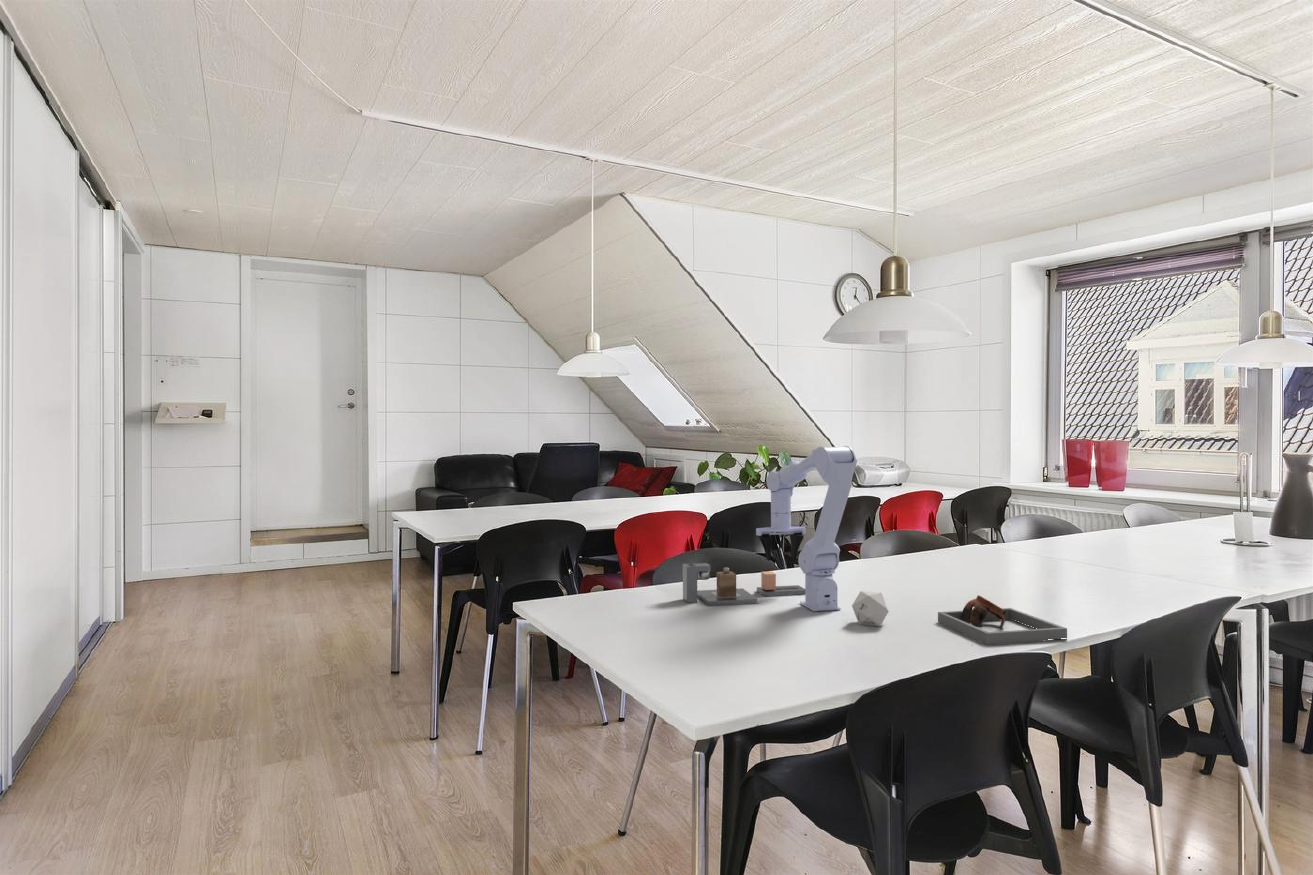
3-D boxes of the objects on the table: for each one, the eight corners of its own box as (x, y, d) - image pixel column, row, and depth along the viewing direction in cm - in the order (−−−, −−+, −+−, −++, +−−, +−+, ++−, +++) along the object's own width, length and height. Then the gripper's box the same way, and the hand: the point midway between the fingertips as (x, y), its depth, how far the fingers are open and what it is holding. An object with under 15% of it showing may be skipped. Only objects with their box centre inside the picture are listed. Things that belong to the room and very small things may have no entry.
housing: (736, 595, 213) (736, 569, 213) (720, 596, 212) (720, 569, 212) (731, 592, 218) (731, 566, 218) (716, 593, 217) (716, 566, 217)
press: (757, 603, 210) (757, 567, 210) (690, 606, 206) (690, 569, 206) (742, 592, 223) (742, 558, 223) (679, 595, 220) (679, 561, 220)
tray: (1067, 639, 172) (1067, 628, 172) (987, 644, 168) (987, 633, 168) (1010, 617, 192) (1010, 607, 192) (937, 622, 188) (937, 612, 188)
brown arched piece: (958, 621, 191) (975, 593, 191) (994, 643, 186) (1012, 614, 186) (951, 619, 181) (969, 589, 181) (989, 642, 176) (1008, 612, 176)
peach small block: (775, 589, 220) (775, 574, 220) (765, 589, 220) (765, 574, 219) (771, 586, 224) (771, 571, 224) (761, 587, 223) (761, 571, 223)
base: (807, 594, 220) (807, 589, 220) (764, 596, 218) (764, 591, 218) (798, 589, 227) (798, 584, 227) (756, 591, 225) (756, 586, 225)
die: (847, 622, 191) (843, 597, 186) (870, 602, 194) (867, 577, 189) (872, 640, 185) (869, 615, 180) (896, 620, 188) (894, 594, 183)
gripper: (799, 510, 226) (799, 556, 226) (752, 512, 223) (753, 558, 224) (808, 513, 219) (808, 559, 220) (760, 514, 217) (761, 562, 217)
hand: (781, 559), depth 221 cm, fingers open, 7 cm apart
